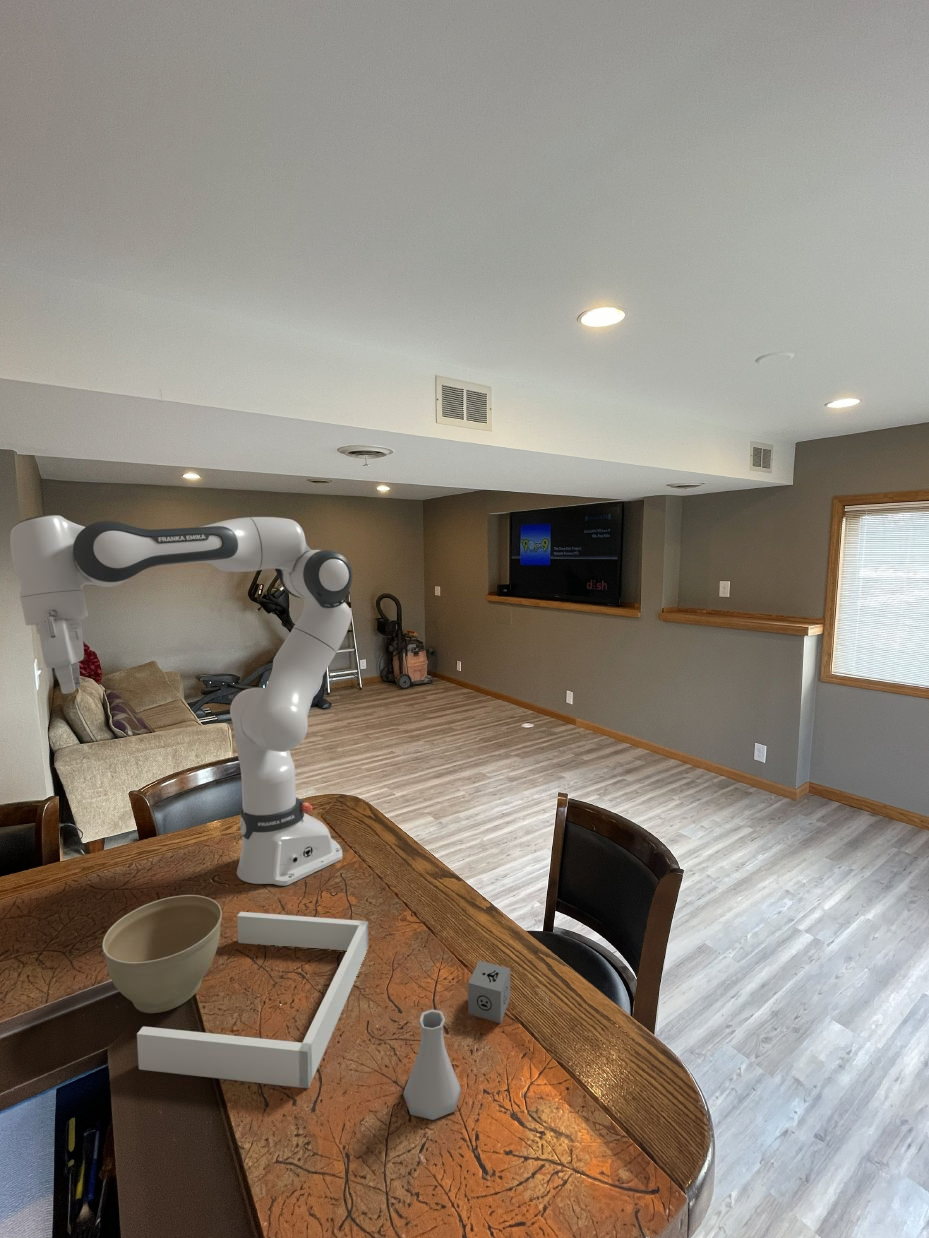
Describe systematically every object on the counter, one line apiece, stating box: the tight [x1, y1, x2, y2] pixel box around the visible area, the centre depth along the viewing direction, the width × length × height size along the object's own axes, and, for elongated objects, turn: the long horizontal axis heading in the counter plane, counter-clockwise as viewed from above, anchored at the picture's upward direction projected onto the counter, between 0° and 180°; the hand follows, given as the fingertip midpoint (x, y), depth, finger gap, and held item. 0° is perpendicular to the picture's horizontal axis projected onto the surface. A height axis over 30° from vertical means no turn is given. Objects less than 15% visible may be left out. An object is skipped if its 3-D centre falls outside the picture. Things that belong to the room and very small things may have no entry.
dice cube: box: [467, 960, 511, 1024], centre depth 84 cm, size 5×5×5 cm
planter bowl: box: [101, 894, 223, 1014], centre depth 87 cm, size 16×16×11 cm
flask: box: [403, 1009, 462, 1121], centre depth 70 cm, size 7×7×10 cm
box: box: [136, 911, 370, 1089], centre depth 85 cm, size 23×26×5 cm
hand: (72, 690), depth 97 cm, fingers open, 8 cm apart
